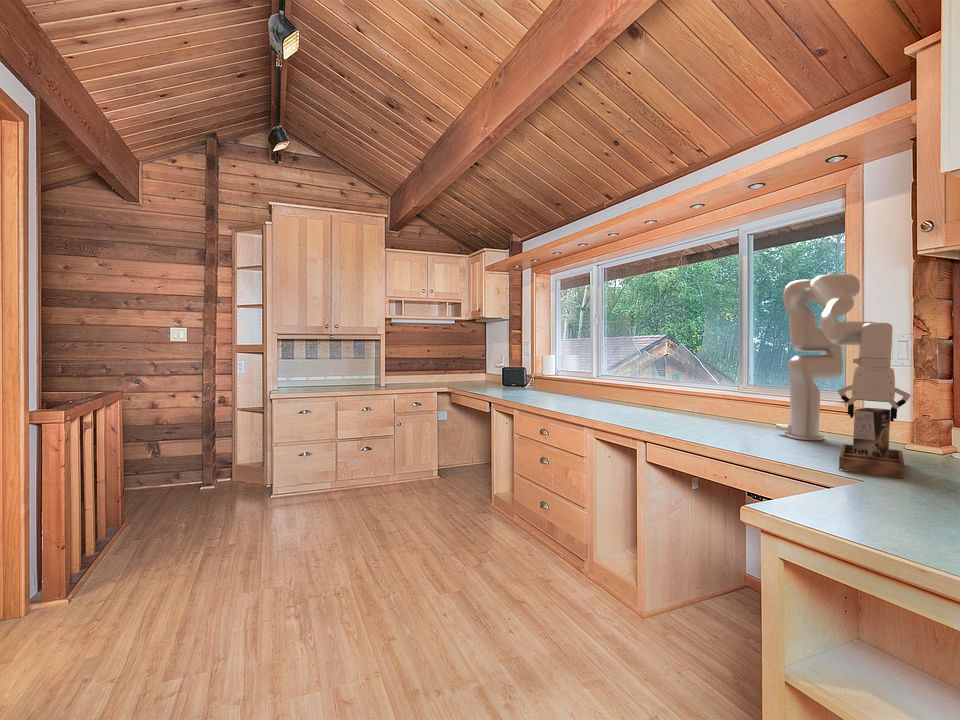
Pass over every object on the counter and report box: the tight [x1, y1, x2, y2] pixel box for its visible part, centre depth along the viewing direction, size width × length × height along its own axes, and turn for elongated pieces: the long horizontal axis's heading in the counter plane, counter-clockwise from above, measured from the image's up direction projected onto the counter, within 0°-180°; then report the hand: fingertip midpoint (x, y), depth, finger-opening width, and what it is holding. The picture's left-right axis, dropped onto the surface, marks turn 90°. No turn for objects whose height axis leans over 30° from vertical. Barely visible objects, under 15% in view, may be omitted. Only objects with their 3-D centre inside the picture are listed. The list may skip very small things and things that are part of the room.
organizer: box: [838, 443, 905, 480], centre depth 149 cm, size 15×20×4 cm
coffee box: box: [852, 407, 891, 458], centre depth 151 cm, size 9×6×16 cm
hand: (871, 419), depth 151 cm, fingers open, 9 cm apart
